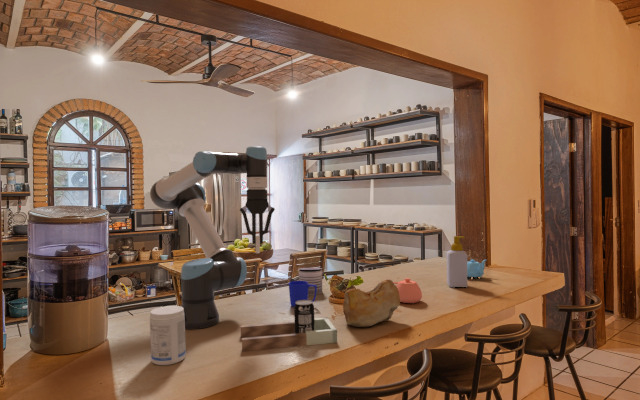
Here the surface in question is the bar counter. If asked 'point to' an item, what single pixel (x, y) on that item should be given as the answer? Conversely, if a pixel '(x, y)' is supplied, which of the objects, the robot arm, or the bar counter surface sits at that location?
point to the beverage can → (304, 316)
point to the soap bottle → (457, 265)
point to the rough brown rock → (371, 304)
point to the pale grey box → (322, 332)
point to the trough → (271, 341)
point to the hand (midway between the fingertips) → (257, 252)
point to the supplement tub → (167, 335)
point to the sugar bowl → (409, 291)
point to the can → (312, 279)
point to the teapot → (475, 268)
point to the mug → (299, 291)
